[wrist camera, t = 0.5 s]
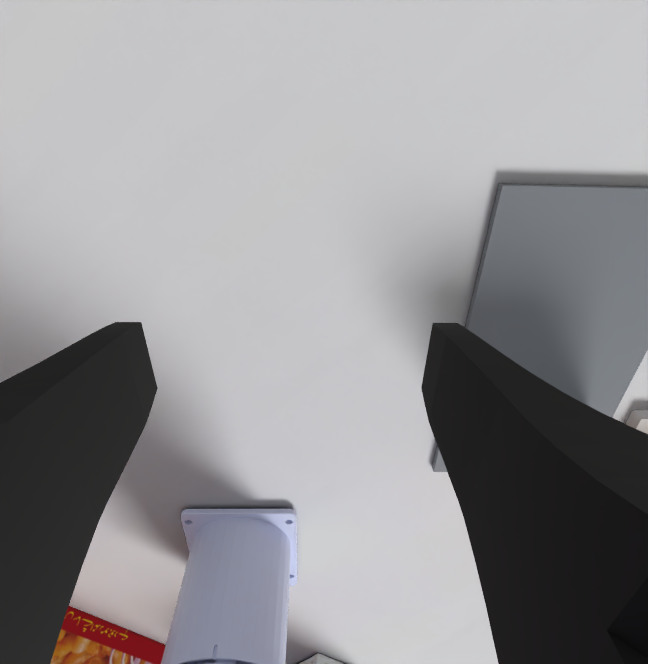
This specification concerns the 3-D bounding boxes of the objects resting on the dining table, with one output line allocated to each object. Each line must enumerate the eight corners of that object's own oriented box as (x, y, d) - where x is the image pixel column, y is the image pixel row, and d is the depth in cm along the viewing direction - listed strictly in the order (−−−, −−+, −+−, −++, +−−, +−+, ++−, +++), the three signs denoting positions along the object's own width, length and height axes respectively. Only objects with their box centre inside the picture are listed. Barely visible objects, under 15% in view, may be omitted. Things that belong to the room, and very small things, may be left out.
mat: (580, 466, 28) (583, 471, 27) (432, 466, 27) (433, 471, 27) (722, 188, 18) (730, 190, 18) (499, 183, 18) (502, 185, 18)
